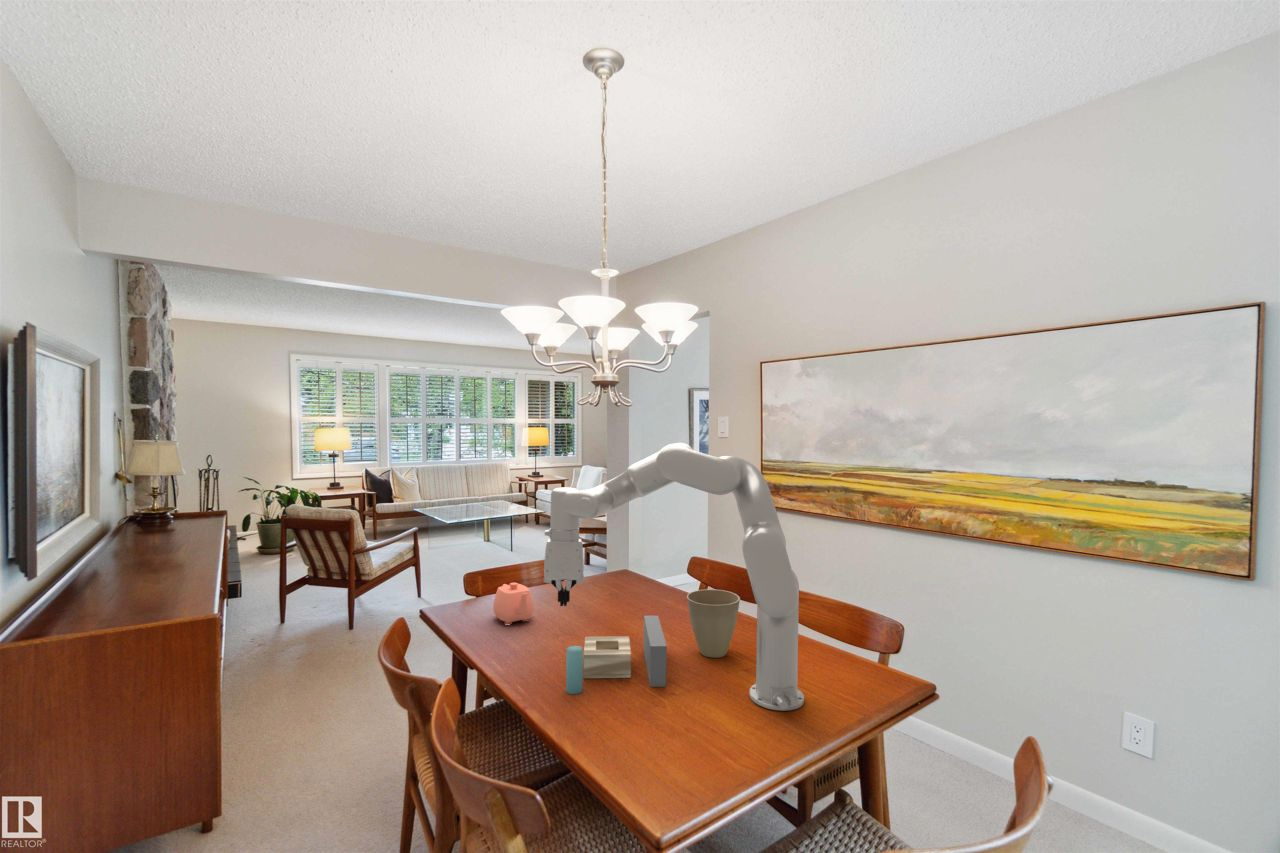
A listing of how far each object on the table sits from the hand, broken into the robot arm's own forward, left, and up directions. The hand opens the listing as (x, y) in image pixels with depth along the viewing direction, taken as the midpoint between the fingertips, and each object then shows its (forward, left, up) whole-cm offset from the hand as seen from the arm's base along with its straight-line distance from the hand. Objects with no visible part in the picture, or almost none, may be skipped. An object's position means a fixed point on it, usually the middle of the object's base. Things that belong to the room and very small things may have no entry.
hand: (563, 604), depth 147 cm
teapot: (+37, +18, -17) cm, 45 cm away
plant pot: (+9, -42, -17) cm, 46 cm away
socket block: (0, -12, -17) cm, 20 cm away
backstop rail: (0, -24, -17) cm, 29 cm away
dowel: (-12, -4, -17) cm, 21 cm away
